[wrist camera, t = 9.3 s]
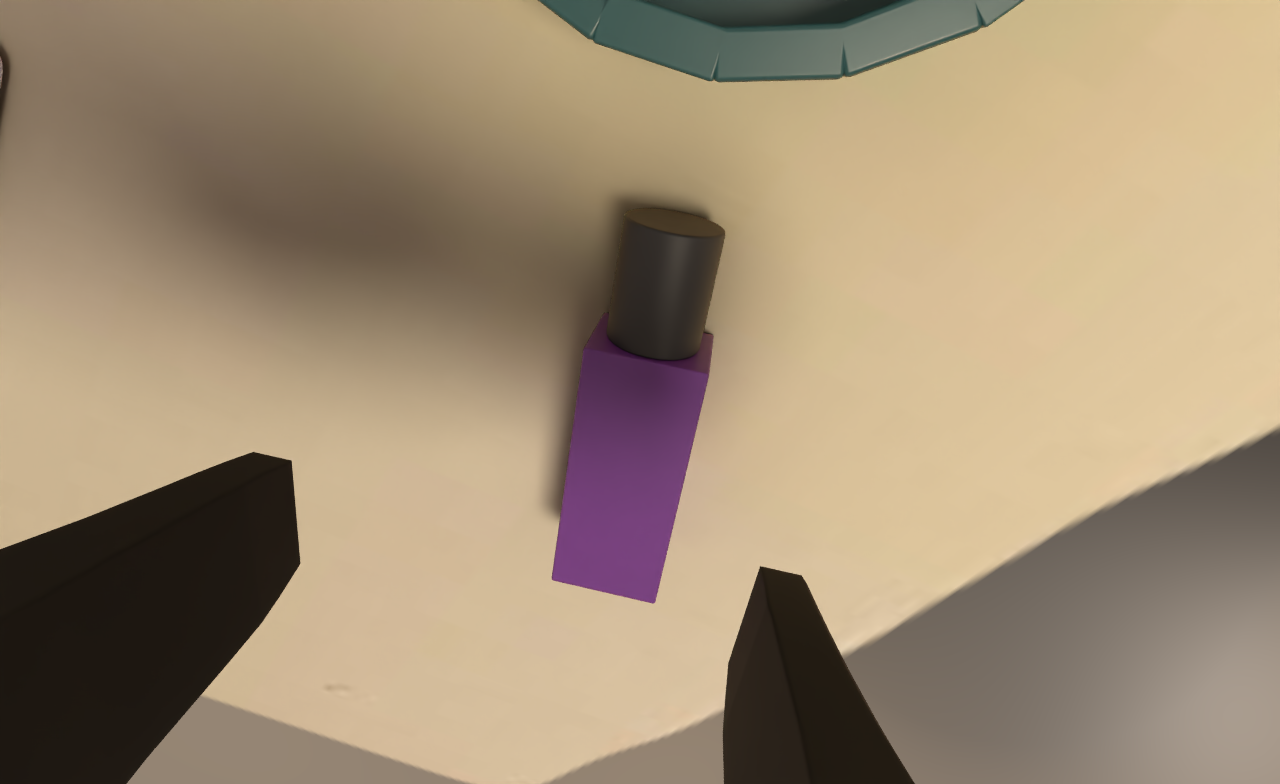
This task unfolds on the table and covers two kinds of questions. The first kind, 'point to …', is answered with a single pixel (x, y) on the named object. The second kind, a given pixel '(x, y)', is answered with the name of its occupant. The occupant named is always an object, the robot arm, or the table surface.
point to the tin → (775, 33)
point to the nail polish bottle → (639, 406)
